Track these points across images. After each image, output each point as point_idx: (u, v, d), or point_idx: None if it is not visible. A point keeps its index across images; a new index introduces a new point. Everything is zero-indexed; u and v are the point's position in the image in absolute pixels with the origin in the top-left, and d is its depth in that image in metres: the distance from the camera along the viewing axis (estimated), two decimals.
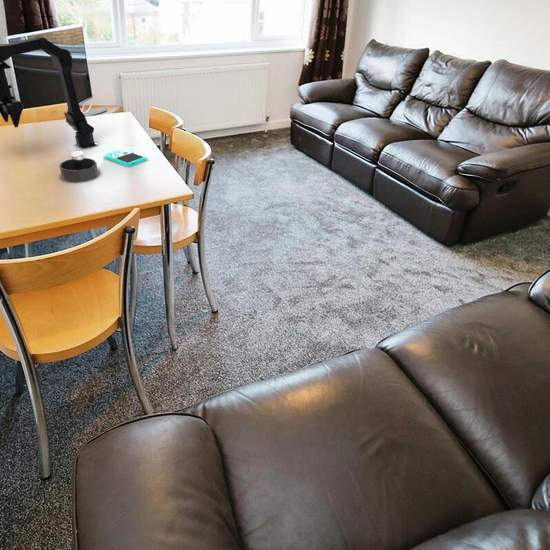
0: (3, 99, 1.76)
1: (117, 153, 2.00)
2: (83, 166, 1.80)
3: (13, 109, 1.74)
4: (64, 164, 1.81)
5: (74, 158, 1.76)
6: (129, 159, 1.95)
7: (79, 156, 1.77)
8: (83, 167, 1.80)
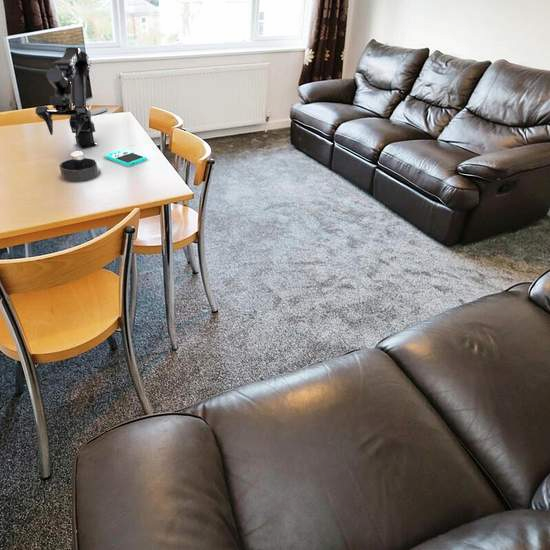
0: None
1: (117, 153, 2.00)
2: (83, 166, 1.80)
3: (88, 113, 1.81)
4: (64, 164, 1.81)
5: (74, 158, 1.76)
6: (129, 159, 1.95)
7: (79, 156, 1.77)
8: (83, 167, 1.80)
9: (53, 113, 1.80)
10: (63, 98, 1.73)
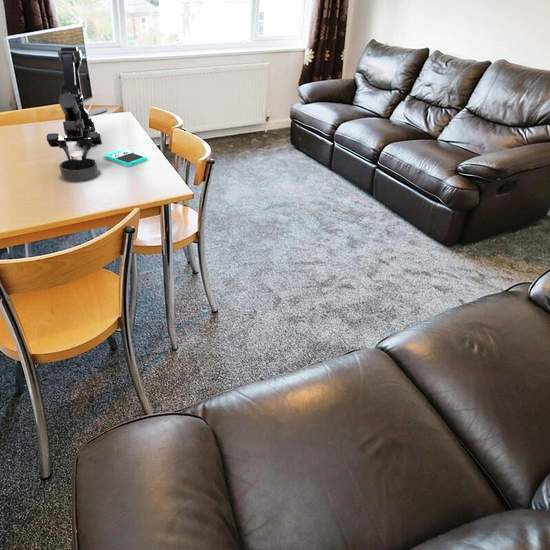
0: None
1: (117, 153, 2.00)
2: (83, 166, 1.80)
3: (100, 138, 1.80)
4: (64, 164, 1.81)
5: (74, 158, 1.76)
6: (129, 159, 1.95)
7: (79, 156, 1.77)
8: (83, 167, 1.80)
9: (64, 140, 1.78)
10: (77, 123, 1.72)
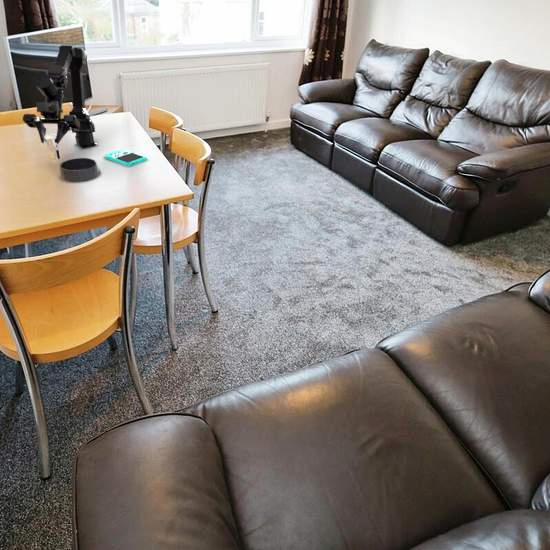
0: (57, 115, 1.74)
1: (117, 153, 2.00)
2: (56, 149, 1.75)
3: (76, 122, 1.74)
4: (64, 164, 1.81)
5: (46, 140, 1.72)
6: (129, 159, 1.95)
7: (52, 139, 1.72)
8: (56, 151, 1.75)
9: None
10: (50, 104, 1.67)
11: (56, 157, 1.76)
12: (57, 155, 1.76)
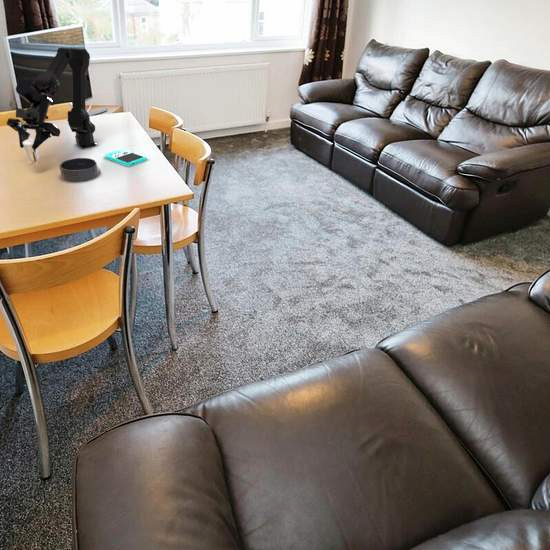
0: (38, 122, 1.75)
1: (117, 153, 2.00)
2: (34, 155, 1.77)
3: (54, 130, 1.74)
4: (64, 164, 1.81)
5: (24, 146, 1.74)
6: (129, 159, 1.95)
7: (28, 145, 1.74)
8: (34, 156, 1.77)
9: None
10: (27, 111, 1.69)
11: (34, 162, 1.78)
12: (35, 161, 1.78)
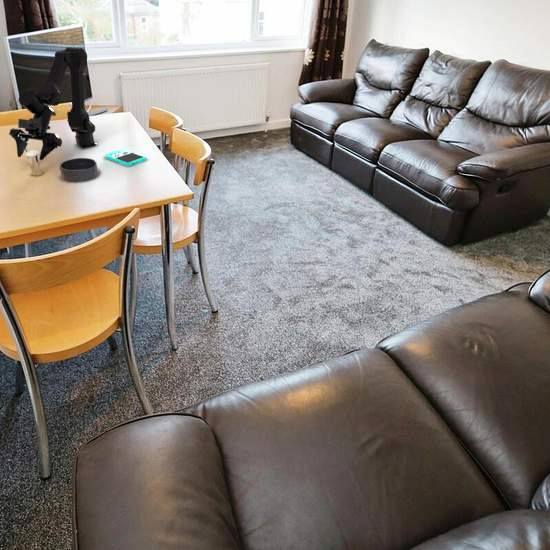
0: (41, 132, 1.77)
1: (117, 153, 2.00)
2: (36, 166, 1.79)
3: (56, 140, 1.76)
4: (64, 164, 1.81)
5: (27, 157, 1.76)
6: (129, 159, 1.95)
7: (31, 156, 1.76)
8: (36, 167, 1.79)
9: (26, 136, 1.79)
10: (29, 122, 1.71)
11: (36, 173, 1.80)
12: (37, 171, 1.80)
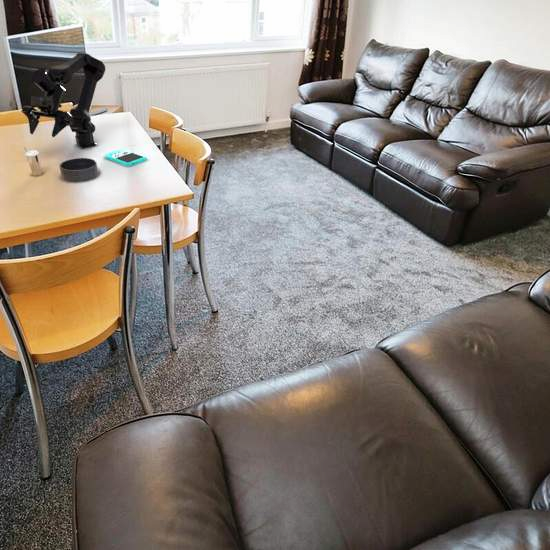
0: (53, 110, 1.82)
1: (117, 153, 2.00)
2: (36, 166, 1.79)
3: (68, 118, 1.80)
4: (64, 164, 1.81)
5: (27, 157, 1.76)
6: (129, 159, 1.95)
7: (31, 156, 1.76)
8: (36, 167, 1.79)
9: (38, 114, 1.83)
10: (42, 99, 1.75)
11: (36, 173, 1.80)
12: (37, 171, 1.80)
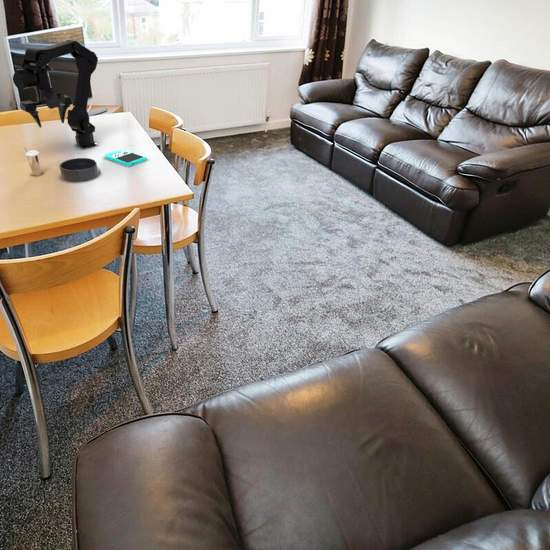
0: None
1: (117, 153, 2.00)
2: (36, 166, 1.79)
3: None
4: (64, 164, 1.81)
5: (27, 157, 1.76)
6: (129, 159, 1.95)
7: (31, 156, 1.76)
8: (36, 167, 1.79)
9: (38, 106, 1.84)
10: (61, 101, 1.82)
11: (36, 173, 1.80)
12: (37, 171, 1.80)
